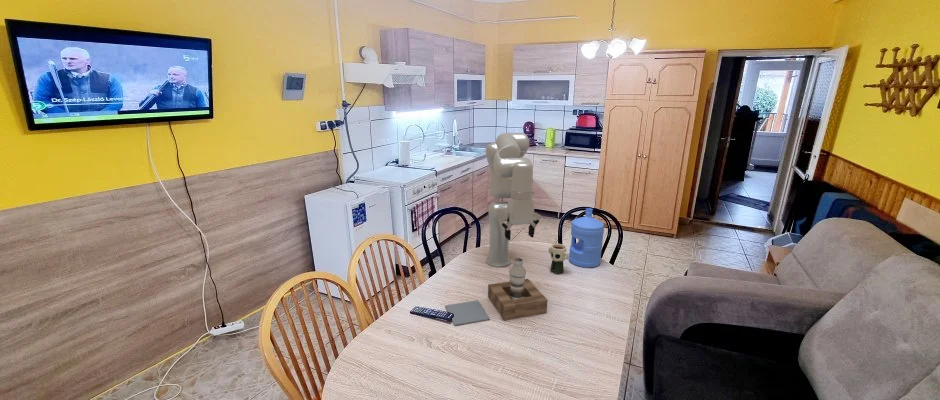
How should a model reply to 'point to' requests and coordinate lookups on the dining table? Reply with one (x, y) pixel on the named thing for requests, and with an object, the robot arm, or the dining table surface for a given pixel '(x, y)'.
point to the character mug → (558, 257)
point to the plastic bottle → (517, 279)
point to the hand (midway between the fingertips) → (519, 237)
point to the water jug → (586, 241)
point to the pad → (467, 313)
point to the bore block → (517, 301)
